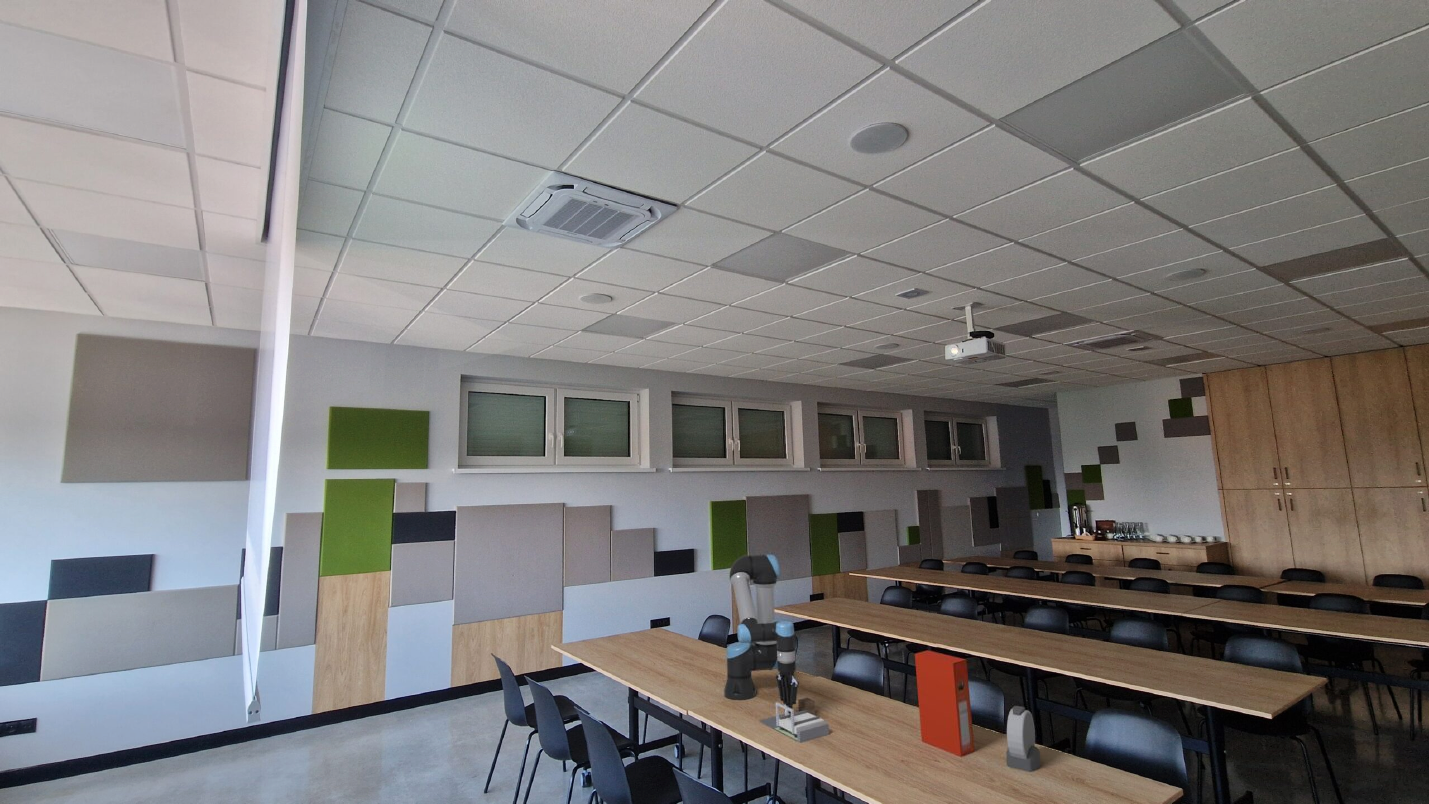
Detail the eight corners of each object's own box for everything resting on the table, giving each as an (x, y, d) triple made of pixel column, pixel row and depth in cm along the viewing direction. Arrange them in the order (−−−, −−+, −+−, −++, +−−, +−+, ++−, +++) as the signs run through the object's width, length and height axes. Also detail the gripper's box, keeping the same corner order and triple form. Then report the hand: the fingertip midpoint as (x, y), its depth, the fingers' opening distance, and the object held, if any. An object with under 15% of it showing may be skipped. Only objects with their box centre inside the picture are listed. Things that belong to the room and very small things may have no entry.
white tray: (775, 729, 252) (773, 701, 253) (803, 721, 259) (802, 694, 261) (795, 739, 241) (793, 710, 242) (824, 731, 248) (823, 703, 250)
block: (798, 714, 269) (798, 699, 270) (807, 711, 272) (807, 697, 273) (806, 717, 265) (805, 702, 266) (815, 715, 268) (814, 700, 268)
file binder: (960, 757, 222) (952, 662, 227) (921, 741, 237) (914, 653, 241) (974, 751, 226) (966, 659, 231) (935, 736, 241) (928, 649, 245)
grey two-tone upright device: (1014, 751, 226) (1009, 698, 228) (1045, 758, 219) (1040, 703, 222) (1001, 767, 213) (996, 710, 216) (1034, 775, 207) (1028, 716, 209)
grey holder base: (759, 721, 262) (758, 711, 263) (786, 714, 270) (786, 704, 270) (800, 742, 239) (799, 731, 239) (829, 734, 246) (828, 723, 247)
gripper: (769, 658, 264) (772, 718, 260) (788, 665, 253) (791, 727, 249) (784, 656, 267) (786, 714, 264) (803, 662, 256) (806, 723, 253)
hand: (788, 720), depth 257 cm, fingers closed
